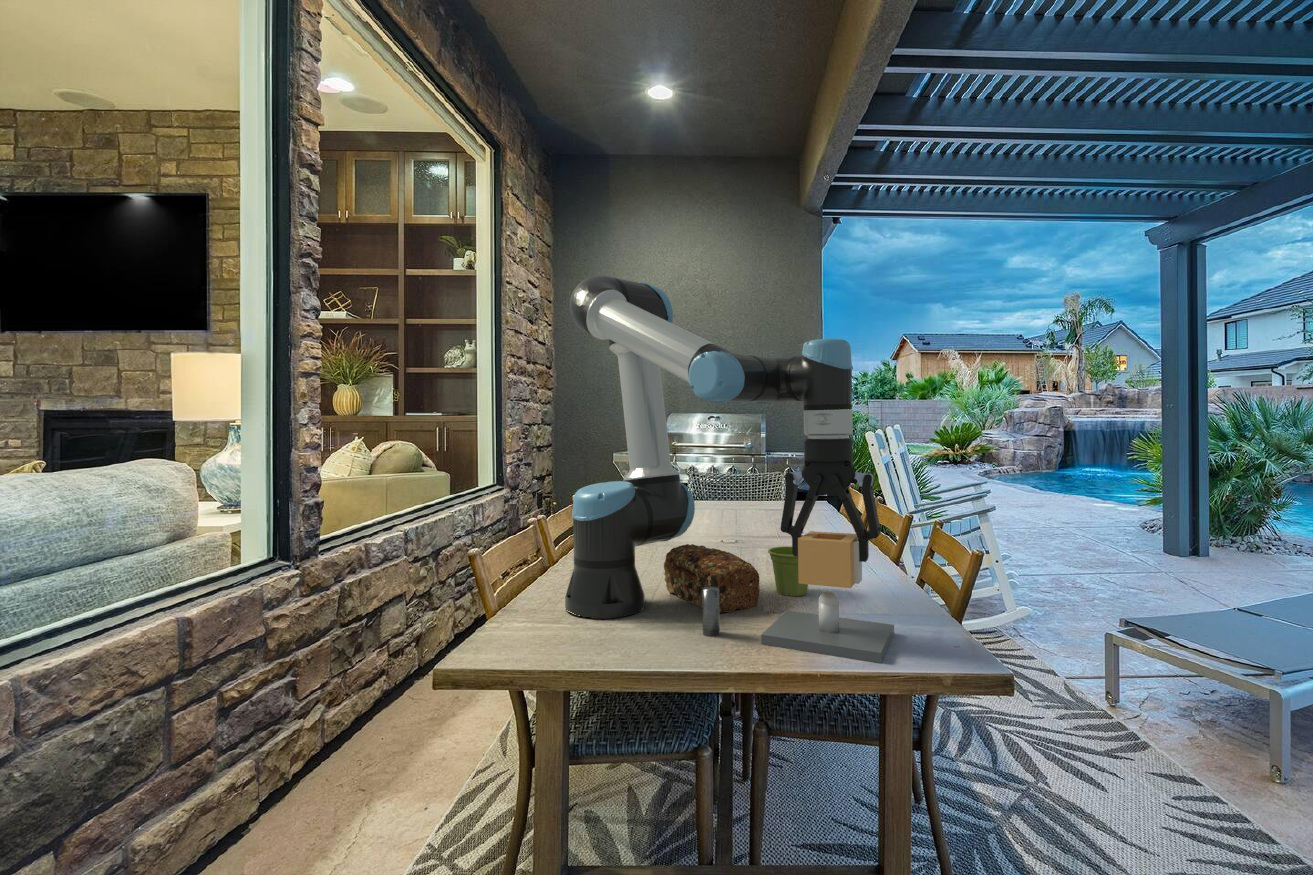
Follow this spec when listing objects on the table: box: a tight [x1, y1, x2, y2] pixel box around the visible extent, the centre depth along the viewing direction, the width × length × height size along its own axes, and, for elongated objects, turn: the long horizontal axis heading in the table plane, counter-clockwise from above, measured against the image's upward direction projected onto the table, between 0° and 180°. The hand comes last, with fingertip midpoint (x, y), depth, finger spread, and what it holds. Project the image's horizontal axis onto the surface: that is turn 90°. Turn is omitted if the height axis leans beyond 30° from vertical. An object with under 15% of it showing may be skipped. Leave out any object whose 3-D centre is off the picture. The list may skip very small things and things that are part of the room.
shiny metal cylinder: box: [702, 587, 721, 637], centre depth 106 cm, size 3×3×8 cm
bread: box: [663, 543, 761, 614], centre depth 126 cm, size 19×11×10 cm, turn 31°
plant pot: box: [767, 545, 809, 597], centre depth 130 cm, size 9×9×9 cm
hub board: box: [760, 591, 895, 664], centre depth 102 cm, size 18×14×8 cm
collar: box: [798, 530, 858, 589], centre depth 102 cm, size 8×8×7 cm
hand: (829, 578), depth 102 cm, fingers closed on collar, 8 cm apart
